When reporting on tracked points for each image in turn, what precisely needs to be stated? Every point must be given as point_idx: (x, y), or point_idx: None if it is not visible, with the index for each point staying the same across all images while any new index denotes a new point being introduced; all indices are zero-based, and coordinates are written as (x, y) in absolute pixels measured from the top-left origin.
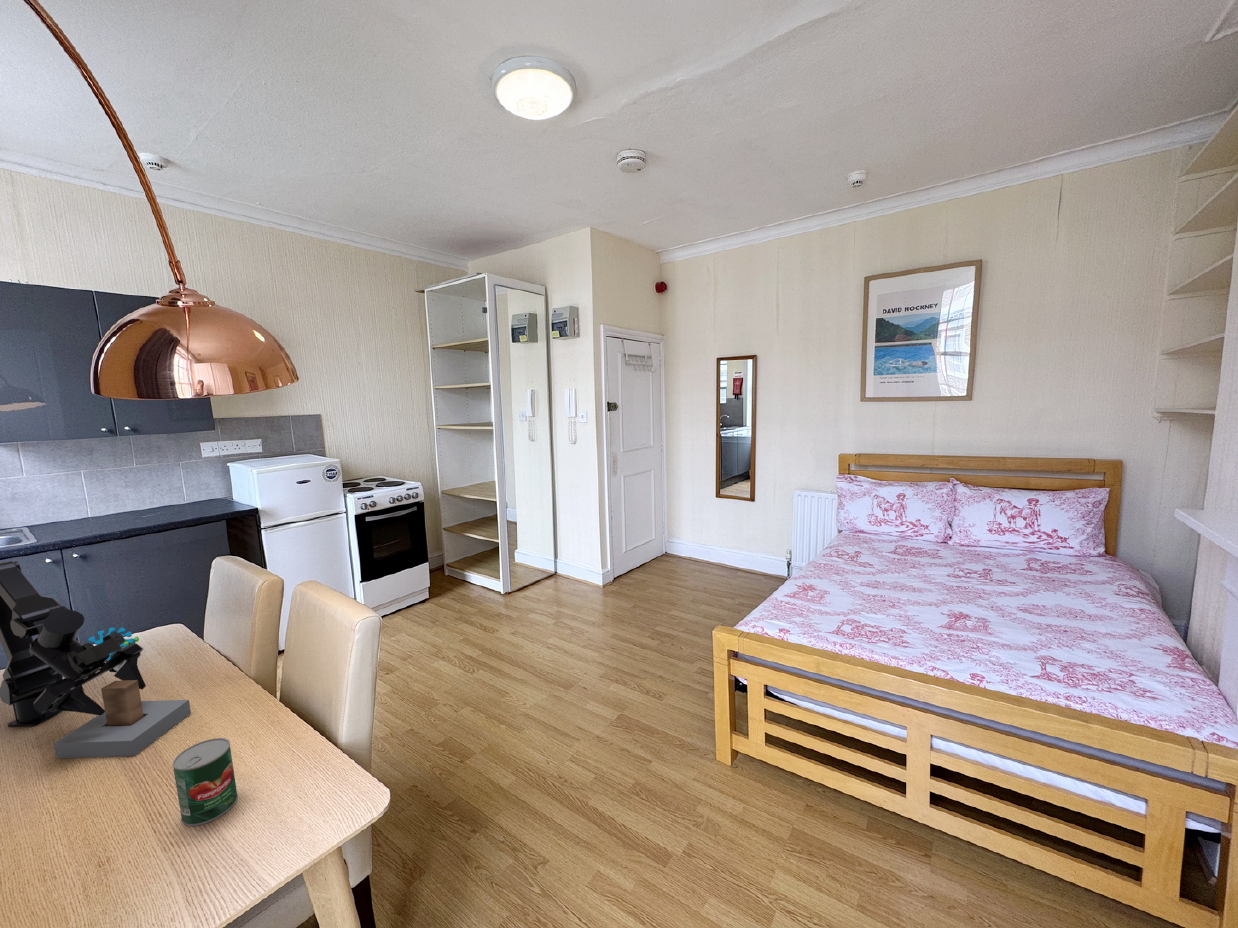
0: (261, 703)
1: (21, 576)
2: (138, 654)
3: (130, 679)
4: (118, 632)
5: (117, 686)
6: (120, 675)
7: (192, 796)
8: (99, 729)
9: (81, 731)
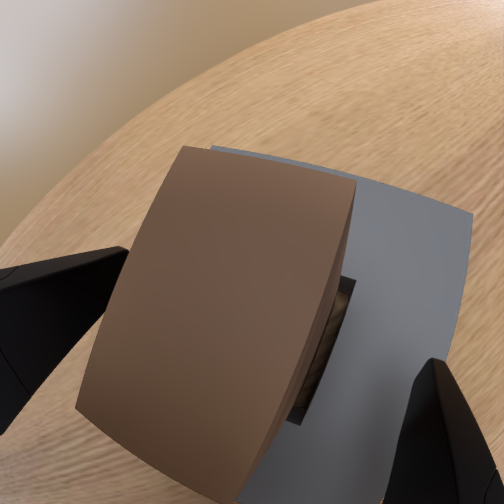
0: (262, 49)
1: None
2: None
3: (48, 332)
4: None
5: (261, 310)
6: (4, 397)
7: None
8: (328, 421)
9: (305, 488)
